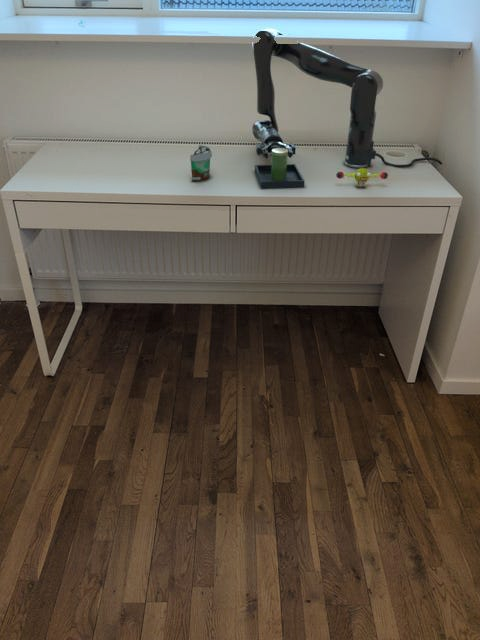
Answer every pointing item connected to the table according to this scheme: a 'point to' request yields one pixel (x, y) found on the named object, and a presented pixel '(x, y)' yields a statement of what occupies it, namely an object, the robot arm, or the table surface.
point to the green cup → (279, 164)
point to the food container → (200, 164)
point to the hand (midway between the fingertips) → (278, 155)
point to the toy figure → (362, 176)
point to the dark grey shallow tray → (291, 181)
